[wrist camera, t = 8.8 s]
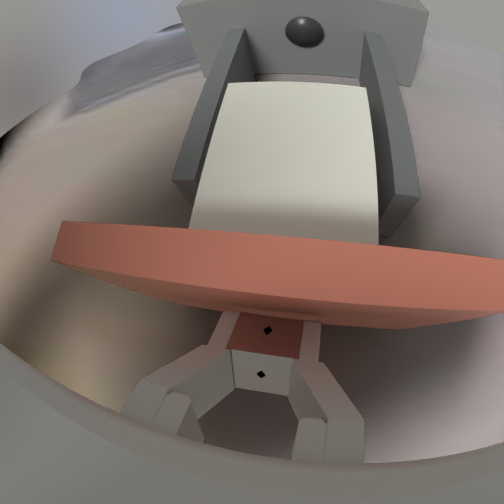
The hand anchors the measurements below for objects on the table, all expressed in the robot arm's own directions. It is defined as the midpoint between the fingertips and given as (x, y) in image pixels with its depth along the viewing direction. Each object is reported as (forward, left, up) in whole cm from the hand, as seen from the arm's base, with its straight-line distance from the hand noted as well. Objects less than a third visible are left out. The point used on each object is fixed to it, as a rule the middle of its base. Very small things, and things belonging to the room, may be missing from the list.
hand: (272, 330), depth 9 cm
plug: (0, +6, -6) cm, 9 cm away
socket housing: (0, +14, -6) cm, 15 cm away
